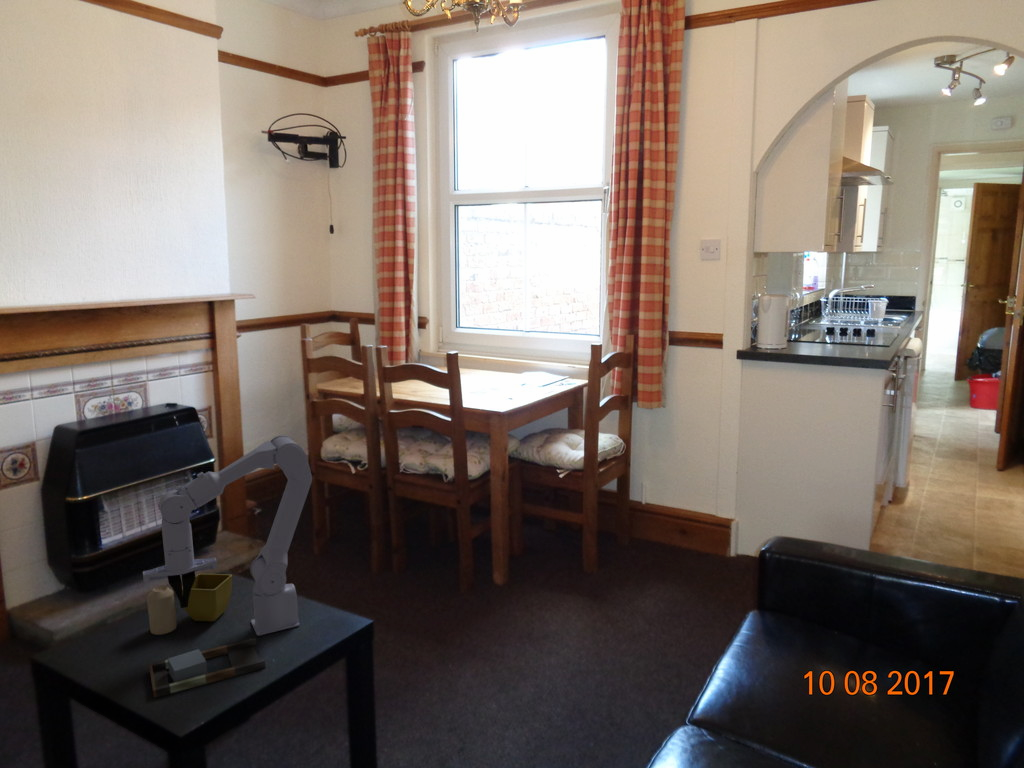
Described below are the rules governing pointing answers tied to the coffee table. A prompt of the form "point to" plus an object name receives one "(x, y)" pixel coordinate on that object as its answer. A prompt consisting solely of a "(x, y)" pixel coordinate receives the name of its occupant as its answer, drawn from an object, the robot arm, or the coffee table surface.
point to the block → (187, 666)
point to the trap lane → (241, 662)
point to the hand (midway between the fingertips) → (184, 605)
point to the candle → (161, 610)
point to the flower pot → (209, 596)
